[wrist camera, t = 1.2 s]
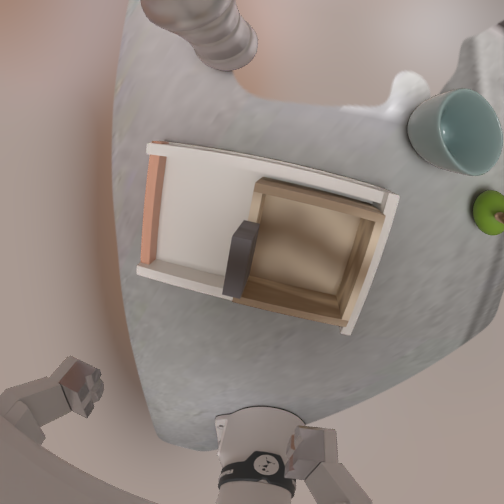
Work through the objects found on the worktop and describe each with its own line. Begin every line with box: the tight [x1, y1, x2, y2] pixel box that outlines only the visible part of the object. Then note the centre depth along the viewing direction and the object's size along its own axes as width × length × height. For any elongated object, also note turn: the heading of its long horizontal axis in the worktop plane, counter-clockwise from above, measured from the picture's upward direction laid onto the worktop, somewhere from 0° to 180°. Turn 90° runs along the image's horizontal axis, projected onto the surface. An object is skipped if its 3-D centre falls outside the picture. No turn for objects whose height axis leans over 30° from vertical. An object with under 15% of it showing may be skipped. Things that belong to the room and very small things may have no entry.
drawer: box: [222, 177, 386, 327], centre depth 27 cm, size 12×12×11 cm
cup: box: [407, 88, 503, 176], centre depth 22 cm, size 8×8×10 cm
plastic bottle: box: [141, 0, 258, 71], centre depth 18 cm, size 6×7×20 cm
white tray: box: [137, 141, 400, 335], centre depth 31 cm, size 16×26×6 cm, turn 79°
